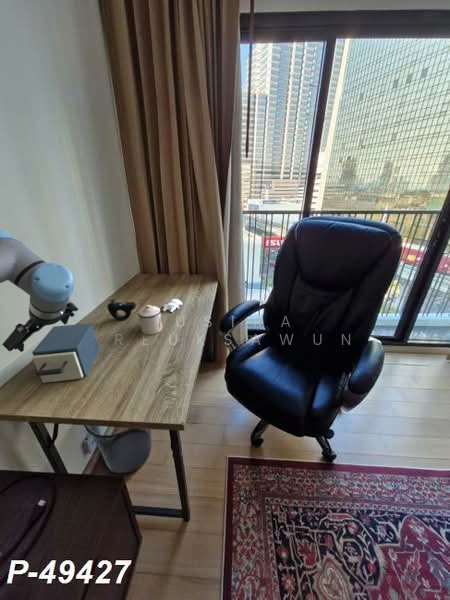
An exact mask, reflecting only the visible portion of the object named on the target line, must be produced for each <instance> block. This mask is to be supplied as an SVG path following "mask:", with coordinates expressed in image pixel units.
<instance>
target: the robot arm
mask: <svg viewBox="0 0 450 600" xmlns="http://www.w3.org/2000/svg"><path fill="white" fill-rule="evenodd" d="M7 281H9V283H11V284H13V285H14V286H16V287H17V288H19V289H21V290H22V291H23V292H25V293H26V294H27V295H29V304H28V317H29V319H28V320H27V321H26V322H25V324H23V323H18V324H17V323H16V325H15V328H14V330H12V332H11V333H10V335H8V337H7V338H6V339H5V340H4V342H3V343H2V346H3V347H4V348H5V349H6V350H7V351H8V352H12V351H13V350H18V351H19V352H20V353H22V352H24V350H25V342H26V341H27V340H28V339H29V338H30V337H32V335H33V334H35V333H37V332H40V330H41V331H42V329H43V328H44V327H46V326H52V325H55V324H57V323H59V322H61V323H62V324H63V326H65V325H68V322H69V320H70V318H73V317H74V316H75V315H76V314H75V313H74V312H77V311H79V308H78V307H77V306H76V305H75V303H74V302H72V301H71V300H70V297H71V295H72V293H73V289H74V275H73V273H72V272H71V271H70V270H69V269H68V267H66V266H65V265H61V264H57V263H56V262H55V263H54V262H46V261H44V259H42V258H41V257H39V255H38V254H36V252H35V253H34V252H33V250H31V249H29V247H27V246H26V245H24V243H23V242H22V241H21V240H19V239H18V238H15V237H14V236H13V235H11V234H10V233H8V232H7V231H6V230H3V229H0V284H1V283H4V282H7Z"/></svg>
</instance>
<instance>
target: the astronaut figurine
mask: <svg viewBox="0 0 450 600" xmlns="http://www.w3.org/2000/svg"><path fill="white" fill-rule="evenodd" d="M179 305H182V306H183V302H182V301H181V300H180V299H176V298H172V299H170V300H168V301H167V303H165V304H163V305H162V311H163V312H164V311H165V312H167V311H166V310H168V311H169V310H170V311H169V313H170V312H172V313H174V312H175V311H176V310H180V306H179ZM163 307H164V308H163ZM176 308H177V309H176ZM175 309H176V310H175ZM174 310H175V311H174ZM173 311H174V312H173Z"/></svg>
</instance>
